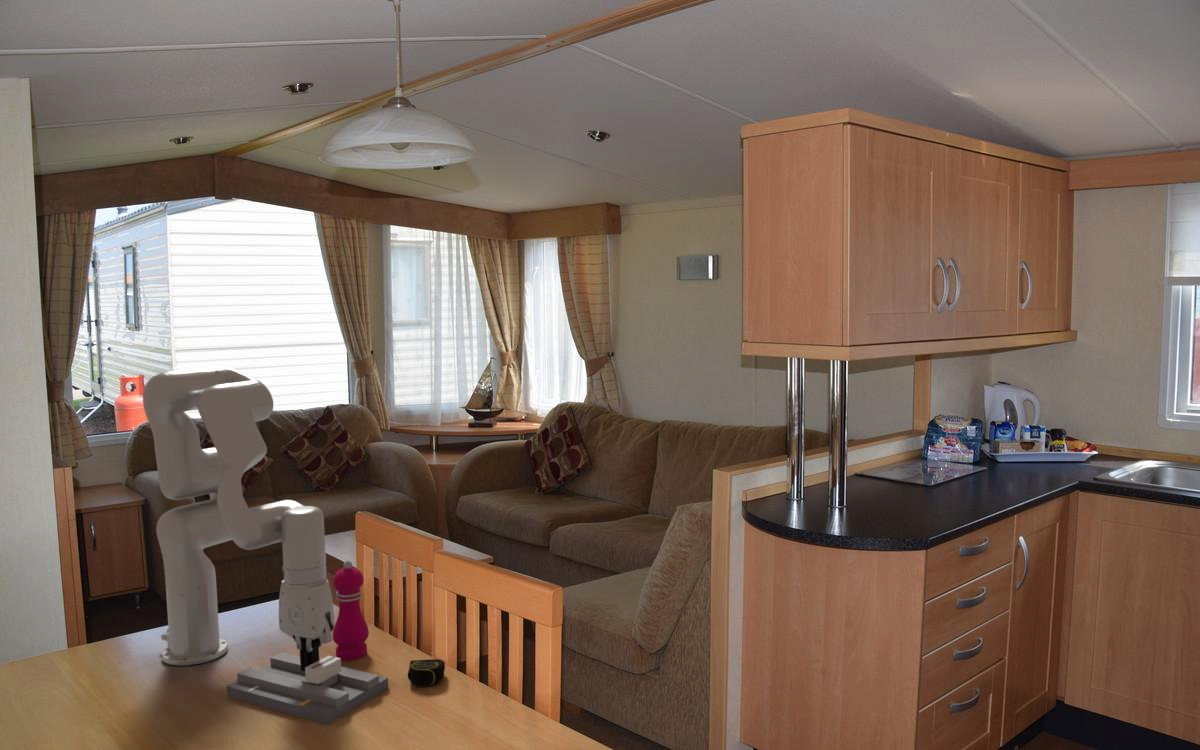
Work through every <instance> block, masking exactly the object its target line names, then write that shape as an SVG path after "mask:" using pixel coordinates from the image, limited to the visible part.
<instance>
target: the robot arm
mask: <svg viewBox="0 0 1200 750" xmlns="http://www.w3.org/2000/svg"><path fill="white" fill-rule="evenodd" d="M142 404H143V410H144V413H145V415H146V418H147V421H148V424H149V426H150V429H151V432H152V436H153V442H154V452H155V459H156V466H157V467H156V469H157V475H158V483H159V488H160V491H161V493H162V495H163V496H164V497H165V498H166V499H169V500H173V501H174V500H175V501H180V500H185V499H186V500H187V499H191V498H195V497H200V496H205V495H209V499H208V500H203V501H197V502H193V503H190V504H185V505H180V506H177V507H174V508H172V509H169V510H167V511H165V513H163V514H162V515H161V516H160V517H159V519H158V520H157V523H156V527H155V528H156V536H157V537H156V538H157V540H158V544H159V548H160V550H161V551H160V553H161V555H162V560H163V561H162V562H163V569H164V580H165V592H166V609H167V611H166V612H167V623H168V624H167V625H168V628H167V630H166V633H165V632H163V633H162V634H161V635H160V636H161V637H160V638H161V640H162V641H166V642H167V643H166V644H167V647H166V648H165V649H164V650H163V651H162V653H161V659H162V662H164V663H165V664H167V665H171V666H176V667H178V666H180V667H182V666H193V665H198V664H205V663H207V662H211V661H213V660H216V659H218V658H220V657H221V656H223V655H224V654H225V653H226V652H228V649H229V645H228V644H229V643H228V642H227V640H226V639H224V638H220V626H219V623H220V622H219V612H218V611H219V610H218V609H219V608H218V592H217V591H218V590H217V578H216V569H215V566H214V564H213V561H212V560H211V559H210V558H209V557H208V556H207V555H206V553H204V549H206V548H209V547H212V546H216V545H219V544H222V543H227V542H229V541H233V542H234V544H235V545H237V546H238V548H240V549H243V550H248V551H250V550H251V551H252V550H255V549H260V548H263V547H266V546H267V547H268V546H270V545H273V544H276V543H281V542H282V544H281V545H282V562H283V563H282V564H283V565H282V567H281V568H282V572H283V580H281V584H280V589H279V595H278V596H279V599H278V626H279V627H278V628H279V629H280V630H279V631H281V632H282V633H283V634H286V635H287V636H289V637H291V638H293V640H294V641H295V646H296V648H297V650H298V651H299V656H300V665H301V671H305V667H307V666H309V665H311V664H313V663H315V662H317V661H319V660H320V648H321V647H322V645H323V644H324V645H325V644H328V643H330V642H332V641H333V634H332V633H333V629H334V626H335V612H334V611H335V609H334V603H333V596H332V590H331V587H330V582H329V580H328V578H327V577H328V576H327V574H328V573H327V555H326V536H325V535H326V534H325V518H324V512H323V510H322V509H321V508H319V507H318V506H314V505H304V504H302V503H300V502H298V501H297V500H294V499H283V500H278V501H275V502H271V503H265V504H261V505H257V506H254V507H250V508H249V506H248V504H247V502H246V501H245V498H244V496H243V488H242V477H243V476H244V473H245V472H247V471H249V470H250V469H251V468H253V467H254V466H256V465H257V464H258V463H259V462H261V461H262V460H263V458H264V457H265V456H266V455H267V452H268V447H267V445H266V442H265V441H264V438H263V436H262V434H261V432H260V430H259V428H258V425H257V423H256V422H262V421H264V420H267V419H268V418H270V417H271V416H272V414H273V410H274V399H273V396H272V393H271V391H270V389H269V388H268V387H267V386H266V385H265V384H264V383H263V382H262V381H260V380H258V379H256V378H255V377H253V376H251V375H248V374H246V373H243V372H242V371H239V370H237V369H234V368H232V367H228V366H222V365H220V366H219V365H217V366H207V367H195V368H181V369H174V370H168V371H164V372H160V373H158V374H155V375H153V376H152V377H151V378H150V379H149V380H148V381H147V382H146V384H145V386H144V388H143V393H142ZM197 410H198V413H199V416H200V418H201V421H202V423H203V424H204V426H205V427H204V428H205V429H206V431H207V433H208V435H209V437H210V439H211V442H212V444H213V446H212V447H207V448H202V446H201V439H200V433H199V429H198V426H197V425H196V423H195V422H194V420H193V419H192V418H191V417H190V416H189V415H188V414H187V413H186V412H188V411H197Z"/></svg>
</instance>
